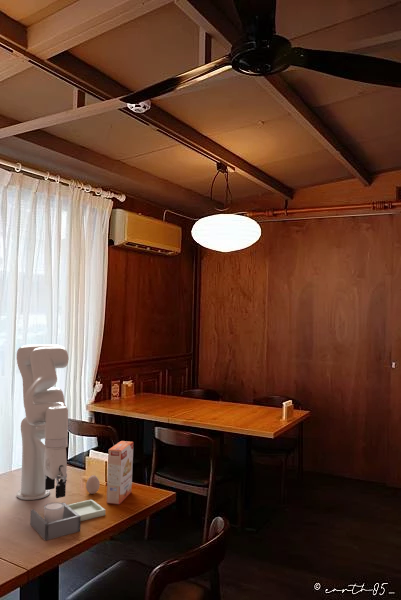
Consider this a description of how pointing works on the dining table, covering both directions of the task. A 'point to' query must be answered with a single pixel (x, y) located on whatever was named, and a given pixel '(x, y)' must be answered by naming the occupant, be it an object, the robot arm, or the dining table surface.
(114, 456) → the cracker box
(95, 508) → the tray
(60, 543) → the dining table surface
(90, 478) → the egg
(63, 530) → the bay
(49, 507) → the white cylinder
